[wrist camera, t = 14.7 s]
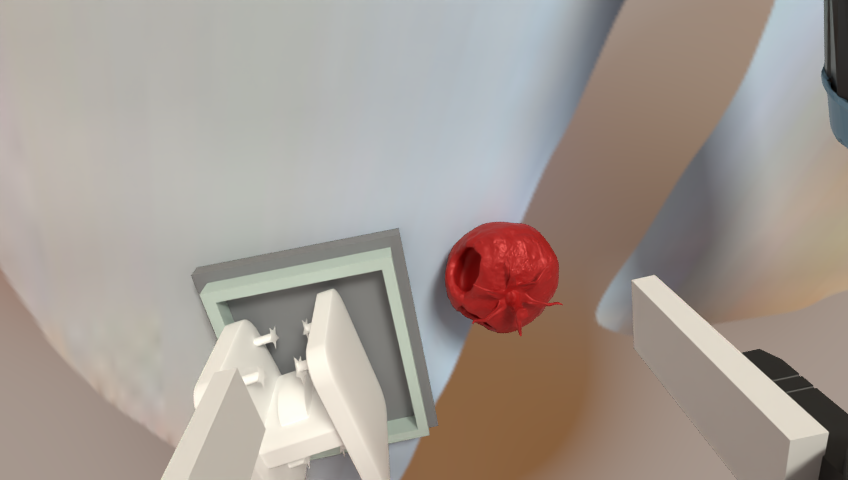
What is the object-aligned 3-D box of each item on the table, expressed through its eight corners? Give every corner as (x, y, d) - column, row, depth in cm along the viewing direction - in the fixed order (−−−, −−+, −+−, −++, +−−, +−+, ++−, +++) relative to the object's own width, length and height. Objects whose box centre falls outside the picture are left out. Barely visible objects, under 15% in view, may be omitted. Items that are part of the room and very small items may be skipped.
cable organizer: (390, 401, 48) (397, 504, 38) (291, 433, 48) (270, 545, 38) (336, 276, 42) (326, 356, 32) (223, 313, 42) (174, 405, 32)
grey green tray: (398, 228, 43) (401, 243, 39) (436, 415, 51) (440, 440, 48) (196, 267, 42) (182, 286, 39) (269, 450, 51) (263, 478, 48)
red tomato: (536, 199, 43) (580, 236, 35) (546, 294, 47) (588, 348, 39) (430, 223, 43) (448, 266, 34) (448, 317, 47) (469, 377, 38)
